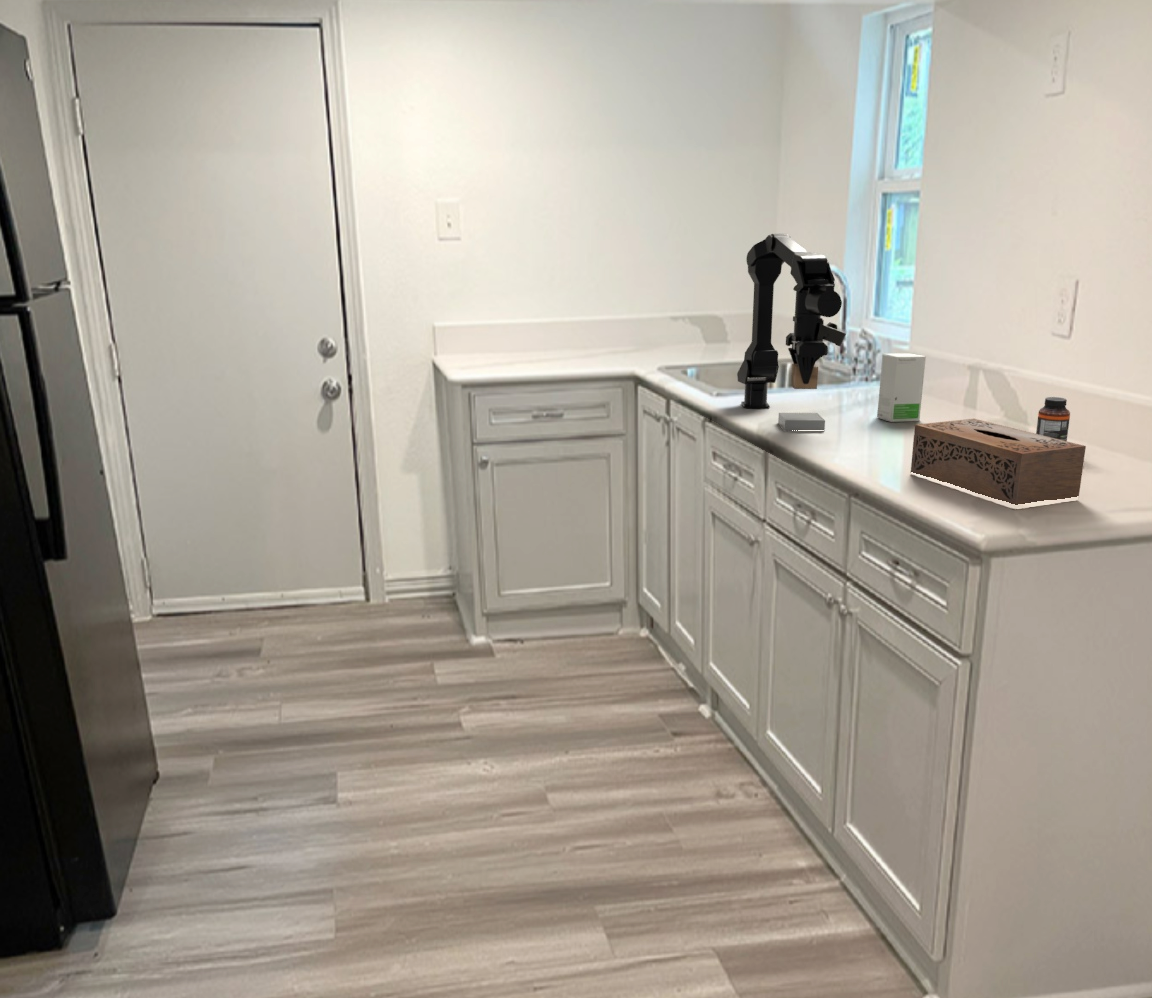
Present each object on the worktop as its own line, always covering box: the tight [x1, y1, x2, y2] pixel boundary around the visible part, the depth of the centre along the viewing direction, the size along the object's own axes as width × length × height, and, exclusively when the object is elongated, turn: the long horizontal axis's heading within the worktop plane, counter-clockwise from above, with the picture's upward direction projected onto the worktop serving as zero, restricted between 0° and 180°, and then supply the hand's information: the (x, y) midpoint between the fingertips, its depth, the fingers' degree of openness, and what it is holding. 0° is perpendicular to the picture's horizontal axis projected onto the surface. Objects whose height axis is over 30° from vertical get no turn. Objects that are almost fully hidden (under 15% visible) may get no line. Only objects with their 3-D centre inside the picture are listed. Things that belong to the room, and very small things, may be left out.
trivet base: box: [777, 412, 826, 432], centre depth 235 cm, size 9×9×3 cm
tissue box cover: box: [910, 418, 1087, 505], centre depth 184 cm, size 26×14×10 cm, turn 23°
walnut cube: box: [790, 363, 819, 390], centre depth 232 cm, size 5×5×5 cm
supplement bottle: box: [1035, 396, 1071, 442], centre depth 209 cm, size 6×6×11 cm
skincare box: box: [876, 353, 927, 423], centre depth 242 cm, size 8×7×16 cm
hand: (803, 381), depth 233 cm, fingers closed on walnut cube, 5 cm apart
